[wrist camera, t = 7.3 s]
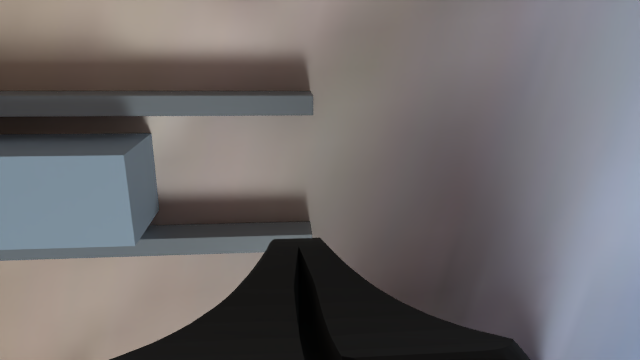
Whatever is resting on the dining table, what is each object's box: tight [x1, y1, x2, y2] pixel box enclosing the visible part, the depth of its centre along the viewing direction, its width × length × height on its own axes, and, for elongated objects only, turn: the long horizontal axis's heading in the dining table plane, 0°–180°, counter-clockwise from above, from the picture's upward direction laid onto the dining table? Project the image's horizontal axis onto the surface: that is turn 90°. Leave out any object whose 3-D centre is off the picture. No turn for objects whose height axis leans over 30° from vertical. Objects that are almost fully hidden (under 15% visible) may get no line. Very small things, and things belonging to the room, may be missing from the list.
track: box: [0, 91, 313, 261], centre depth 17 cm, size 20×7×6 cm, turn 89°
